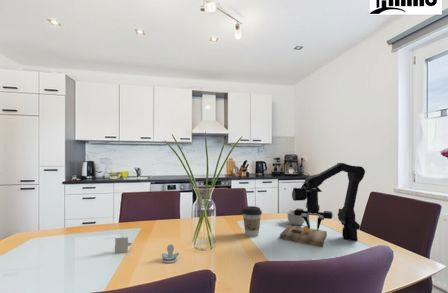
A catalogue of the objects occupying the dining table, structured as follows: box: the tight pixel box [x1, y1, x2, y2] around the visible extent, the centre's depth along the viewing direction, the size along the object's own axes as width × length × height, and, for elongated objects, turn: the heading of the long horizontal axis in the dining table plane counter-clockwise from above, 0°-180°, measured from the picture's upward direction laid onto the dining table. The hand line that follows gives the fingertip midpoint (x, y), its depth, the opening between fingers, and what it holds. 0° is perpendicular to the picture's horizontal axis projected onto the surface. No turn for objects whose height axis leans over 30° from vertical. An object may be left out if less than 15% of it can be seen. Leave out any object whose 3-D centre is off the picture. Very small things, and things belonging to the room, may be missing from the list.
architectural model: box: [114, 237, 133, 255], centre depth 105 cm, size 3×7×7 cm, turn 98°
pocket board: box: [279, 224, 328, 248], centre depth 123 cm, size 21×18×2 cm
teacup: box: [286, 209, 305, 227], centre depth 148 cm, size 14×11×8 cm
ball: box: [303, 225, 312, 234], centre depth 122 cm, size 4×4×4 cm
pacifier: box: [161, 244, 180, 264], centre depth 96 cm, size 7×6×6 cm
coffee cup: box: [241, 205, 263, 238], centre depth 127 cm, size 11×11×15 cm
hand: (313, 229), depth 120 cm, fingers open, 4 cm apart
